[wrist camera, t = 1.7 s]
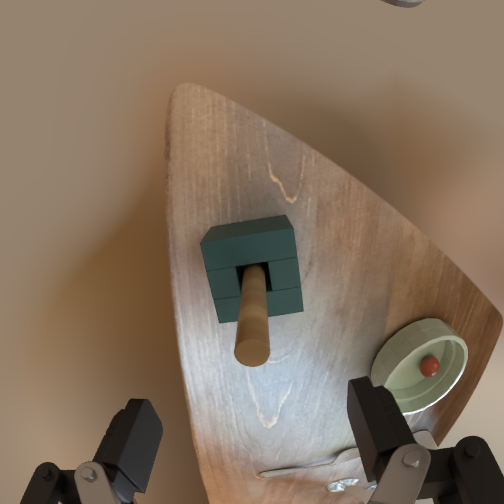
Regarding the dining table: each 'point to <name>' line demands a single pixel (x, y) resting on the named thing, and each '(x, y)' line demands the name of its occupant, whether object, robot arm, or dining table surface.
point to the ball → (429, 366)
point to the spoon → (340, 458)
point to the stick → (253, 318)
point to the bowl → (408, 364)
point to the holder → (249, 252)
